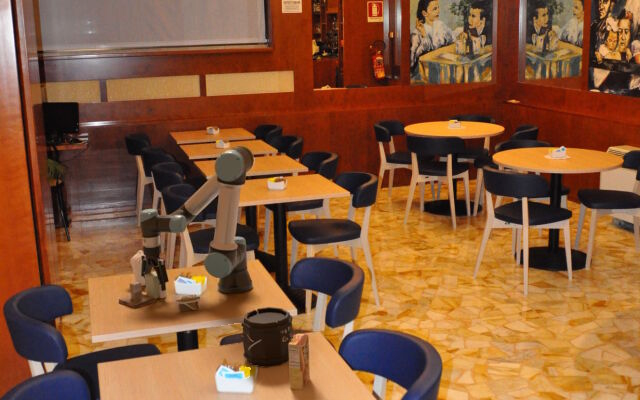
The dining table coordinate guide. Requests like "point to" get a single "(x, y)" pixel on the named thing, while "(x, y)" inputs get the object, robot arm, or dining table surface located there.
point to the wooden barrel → (267, 336)
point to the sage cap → (152, 285)
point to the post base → (138, 302)
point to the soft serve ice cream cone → (138, 267)
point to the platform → (188, 303)
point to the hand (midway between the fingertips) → (156, 294)
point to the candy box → (299, 361)
